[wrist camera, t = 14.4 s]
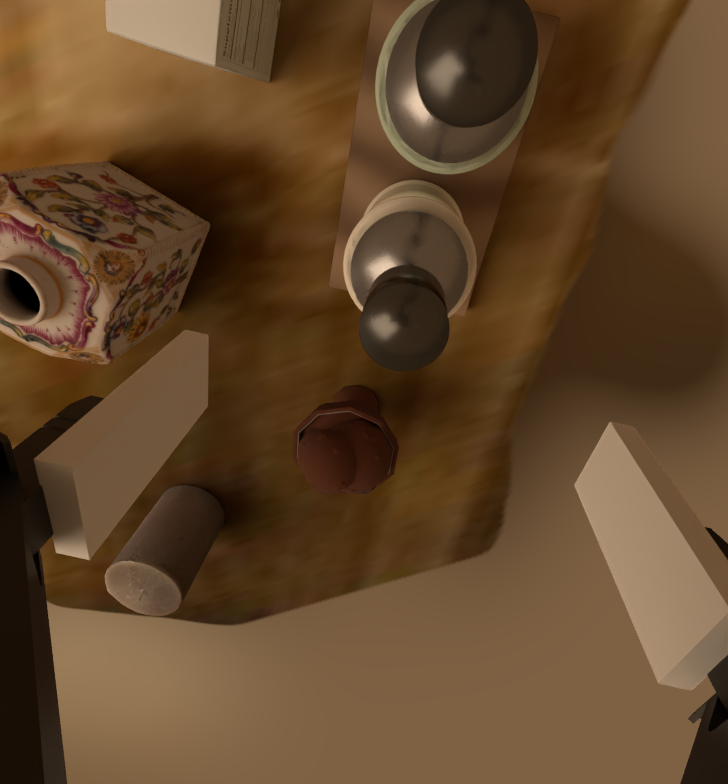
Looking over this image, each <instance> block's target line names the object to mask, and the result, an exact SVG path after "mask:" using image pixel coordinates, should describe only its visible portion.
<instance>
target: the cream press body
mask: <svg viewBox="0 0 728 784" xmlns="http://www.w3.org/2000/svg"><path fill="white" fill-rule="evenodd" d="M402 210H419V211H424V212H428V213H431V214H433V215H435V216H438V217H439V218H441V219H442V220H444V221H445V222H446V223H448V224H449V225H450V226H451V227H452V228H453V229H454V231H455V232H456V233H457V235H458V236H459V238H460V240H461V242H462V244H463V246H464V249H465V252H466V255H467V261H468V277H467V282H466V287H465V289H464V292H463V294H462V296H461V298H460V300H459V301H458V303H457V304H456V305H455V307H454V308H453V309H452V310H451V311H450V312H449V313H448V318H449V317H450V316H451V315H453V314H454V313H455V312H456V311H457V310H458V309H459V308H460V307H461V305H462V304H463V303H464V301H465V300H466V298H467V297H468V295H469V293H470V291H471V289H472V286H473V283H474V279H475V275H476V268H477V257H476V250H475V246H474V243H473V239H472V237H471V235H470V233H469V231H468V229H467V227H466V226H465V224H464V221H463V218H462V214H461V212H460V210H459V207H458V205H457V204H456V202H455V201H454V199H453V198H452V197H451V196H450V195H449V194H448V193H447V192H446V191H445V190H444V189H442V188H441V187H439V186H438V185H436V184H433V183H431V182H428V181H424V180H404V181H400V182H397V183H394V184H392V185H390V186H388V187H387V188H385V189H384V190H382V191H381V192H380V193H379V194H378V195H377V196H376V197H375V198H374V199H373V200H372V202H371V203H370V204H369V206H368V208H367V210H366V211H365V214H364V216H363V218H362V219H361V220H360V221H359V223H358V224H357V225H356V227H355V228H354V230H353V232H352V233H351V235H350V237H349V240H348V242H347V245H346V249H345V253H344V260H343V272H344V278H345V283H346V286H347V289H348V291H349V294H350V296H351V298H352V299H353V301H354V303H355V304H356V305H357V306H358V308H359V309H360V310H361V311H363V306H362V305H361V304H360V302H359V301H358V299H357V297H356V295H355V292H354V290H353V286H352V282H351V270H350V269H351V260H352V256H353V253H354V250H355V248H356V245H357V244H358V242H359V240H360V238H361V237H362V235H363V234H364V232H365V231H366V230H367V229H368V228H369V227H370V226H371V225H372V224H373V223H375V222H376V221H377V220H379V219H380V218H382V217H384V216H386V215H388V214H390V213H393V212H397V211H402Z"/></svg>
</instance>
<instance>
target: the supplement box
mask: <svg viewBox="0 0 728 784" xmlns="http://www.w3.org/2000/svg"><path fill="white" fill-rule="evenodd" d="M280 5H281V0H106V28H107V30H108V31H109V32H111V33H113V34H116V35H118V36H121V37H124V38H126V39H129V40H132V41H134V42H137V43H140V44H143V45H145V46H148V47H151V48H154V49H157V50H160V51H162V52H165V53H169V54H172V55H175V56H178V57H181V58H184V59H187V60H191V61H194V62H198V63H201V64H204V65H208V66H211V67H214V68H218V69H221V70H225V71H228V72H232V73H235V74H239V75H242V76H246V77H250V78H253V79H257V80H260V81H264V82H267V83H269V82H270V75H271V68H272V61H273V54H274V47H275V40H276V33H277V27H278V19H279V13H280Z"/></svg>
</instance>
